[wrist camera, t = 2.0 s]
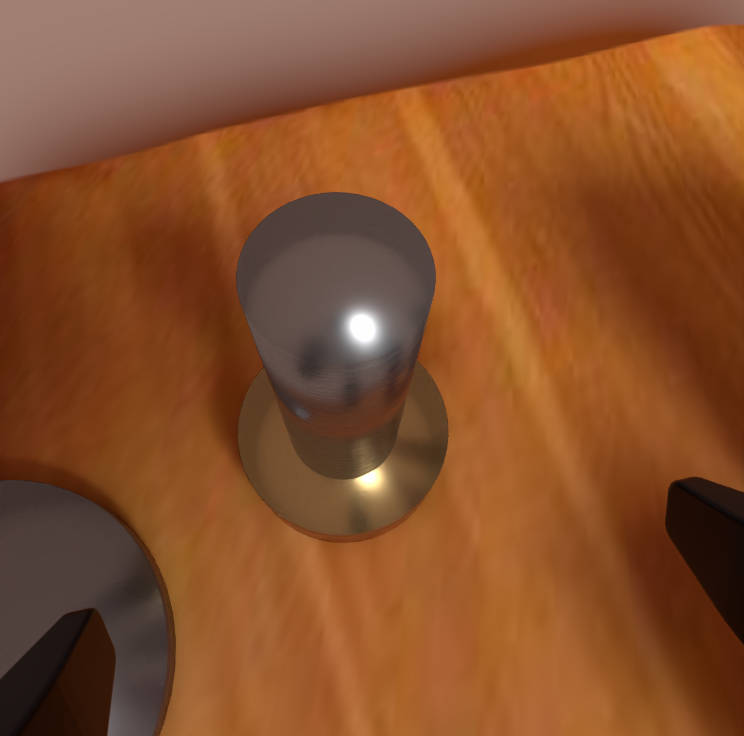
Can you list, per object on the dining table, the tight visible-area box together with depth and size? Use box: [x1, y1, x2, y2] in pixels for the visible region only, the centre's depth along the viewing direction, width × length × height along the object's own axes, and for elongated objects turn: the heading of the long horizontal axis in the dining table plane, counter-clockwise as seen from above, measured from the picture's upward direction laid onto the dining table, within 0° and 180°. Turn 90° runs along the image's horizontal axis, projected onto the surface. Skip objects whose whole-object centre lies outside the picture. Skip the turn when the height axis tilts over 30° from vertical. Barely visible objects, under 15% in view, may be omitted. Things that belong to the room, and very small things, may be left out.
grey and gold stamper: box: [236, 192, 448, 543], centre depth 16 cm, size 7×7×12 cm
